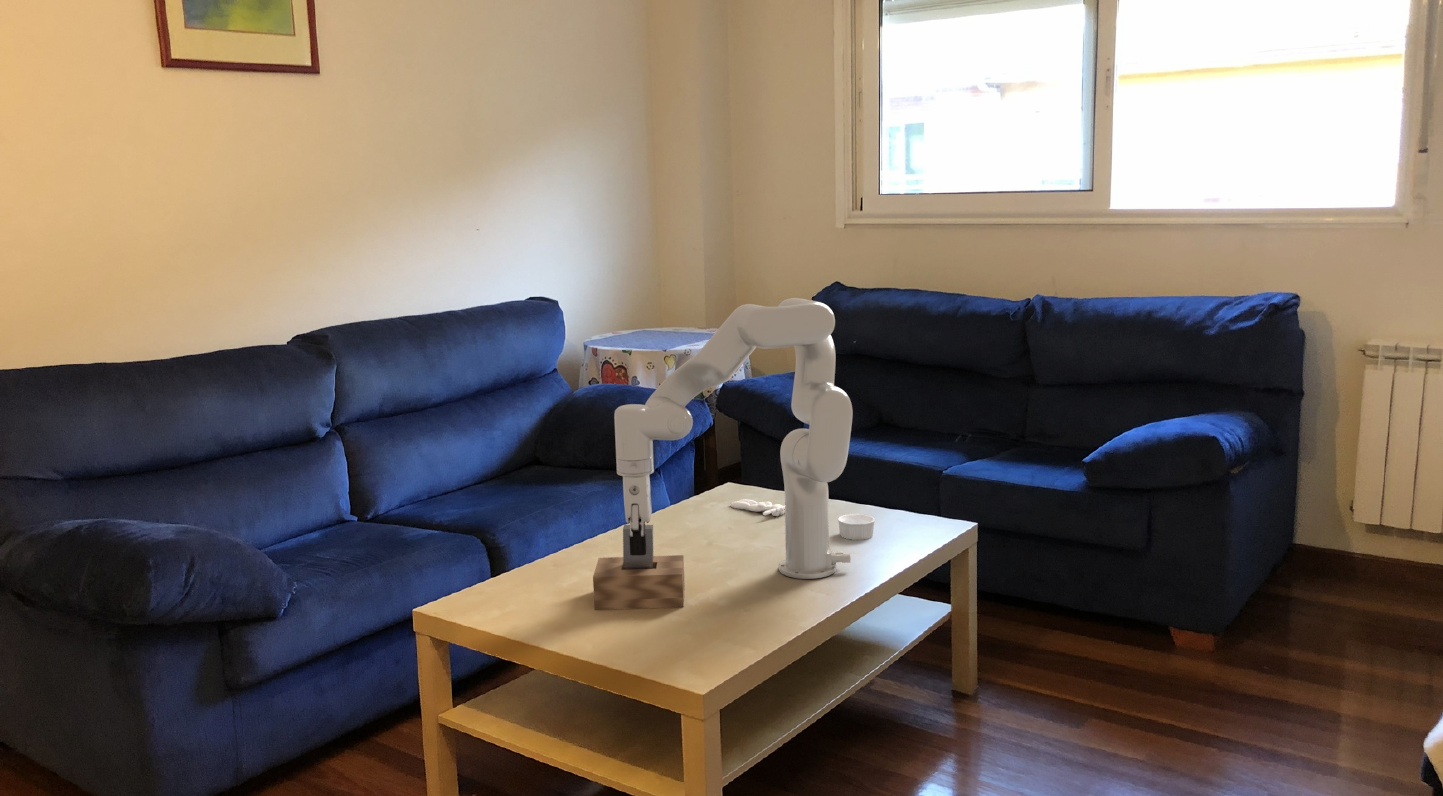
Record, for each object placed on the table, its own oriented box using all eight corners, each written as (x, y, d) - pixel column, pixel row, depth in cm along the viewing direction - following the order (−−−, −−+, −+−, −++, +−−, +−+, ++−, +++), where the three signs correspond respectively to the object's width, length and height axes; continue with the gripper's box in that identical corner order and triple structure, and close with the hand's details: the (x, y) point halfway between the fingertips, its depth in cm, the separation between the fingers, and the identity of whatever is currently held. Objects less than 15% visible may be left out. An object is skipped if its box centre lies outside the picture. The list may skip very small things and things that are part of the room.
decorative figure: (717, 504, 292) (766, 508, 279) (749, 495, 300) (798, 498, 287) (719, 517, 292) (768, 522, 279) (750, 507, 300) (799, 511, 287)
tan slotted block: (684, 586, 235) (683, 555, 233) (683, 607, 223) (682, 574, 221) (600, 589, 234) (598, 557, 233) (594, 609, 223) (592, 577, 221)
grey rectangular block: (653, 566, 229) (653, 524, 227) (652, 571, 226) (652, 529, 224) (624, 566, 229) (624, 524, 227) (623, 571, 226) (623, 529, 224)
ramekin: (839, 529, 271) (839, 512, 271) (876, 531, 270) (876, 514, 269) (836, 540, 263) (836, 523, 262) (873, 542, 261) (873, 524, 260)
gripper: (651, 474, 215) (655, 564, 219) (655, 455, 232) (658, 539, 235) (613, 475, 215) (617, 565, 219) (619, 456, 231) (623, 540, 235)
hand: (638, 551), depth 227 cm, fingers closed on grey rectangular block, 3 cm apart
